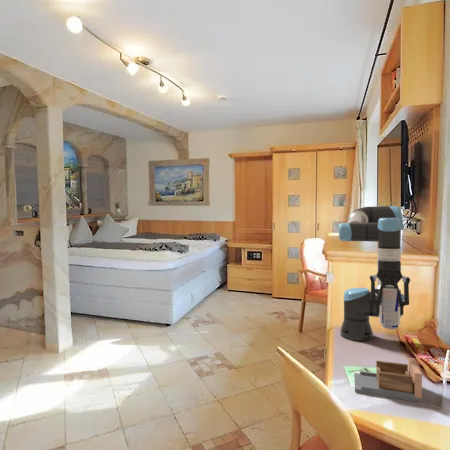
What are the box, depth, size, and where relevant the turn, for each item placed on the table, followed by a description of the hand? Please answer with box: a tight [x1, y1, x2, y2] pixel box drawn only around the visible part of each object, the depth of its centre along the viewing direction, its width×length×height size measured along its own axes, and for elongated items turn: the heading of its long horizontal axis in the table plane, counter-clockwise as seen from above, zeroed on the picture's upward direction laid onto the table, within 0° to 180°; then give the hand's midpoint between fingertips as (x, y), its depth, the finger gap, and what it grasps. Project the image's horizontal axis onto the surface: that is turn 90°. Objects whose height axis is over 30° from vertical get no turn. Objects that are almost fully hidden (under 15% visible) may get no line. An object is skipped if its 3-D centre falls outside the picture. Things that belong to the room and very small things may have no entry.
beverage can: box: [380, 286, 399, 330], centre depth 125 cm, size 6×6×15 cm
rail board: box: [353, 357, 423, 403], centre depth 118 cm, size 12×20×9 cm, turn 70°
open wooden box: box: [375, 360, 413, 393], centre depth 117 cm, size 10×10×6 cm
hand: (389, 322), depth 125 cm, fingers closed on beverage can, 5 cm apart
